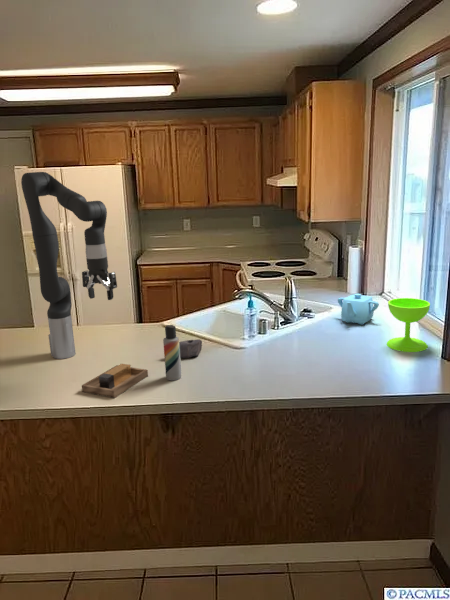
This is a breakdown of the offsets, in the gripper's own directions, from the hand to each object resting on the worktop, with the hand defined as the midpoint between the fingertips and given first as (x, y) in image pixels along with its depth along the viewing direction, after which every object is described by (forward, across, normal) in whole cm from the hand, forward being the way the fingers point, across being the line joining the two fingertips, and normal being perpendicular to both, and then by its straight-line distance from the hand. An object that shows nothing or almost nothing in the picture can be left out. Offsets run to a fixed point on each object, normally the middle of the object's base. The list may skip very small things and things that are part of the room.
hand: (101, 298), depth 192 cm
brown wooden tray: (+28, -12, +11) cm, 32 cm away
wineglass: (+28, -103, -63) cm, 124 cm away
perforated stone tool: (+28, -22, -21) cm, 42 cm away
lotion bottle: (+28, -29, -1) cm, 41 cm away
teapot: (+28, -77, -89) cm, 121 cm away
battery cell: (+27, -12, +11) cm, 32 cm away
